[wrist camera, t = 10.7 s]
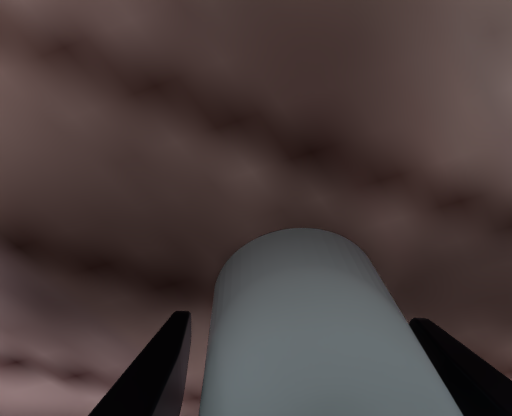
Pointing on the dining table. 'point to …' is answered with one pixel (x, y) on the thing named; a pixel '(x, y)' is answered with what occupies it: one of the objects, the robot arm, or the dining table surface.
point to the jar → (313, 336)
